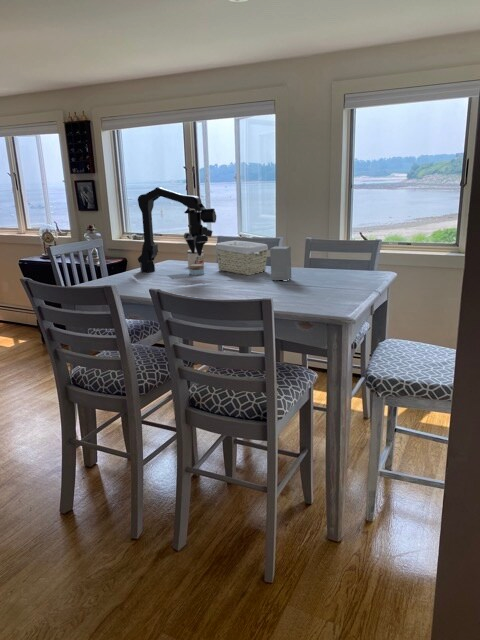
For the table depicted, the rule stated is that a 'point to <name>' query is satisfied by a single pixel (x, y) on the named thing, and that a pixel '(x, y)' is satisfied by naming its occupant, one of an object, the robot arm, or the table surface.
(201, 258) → the teacup with lid
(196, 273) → the bowl
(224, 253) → the storage basket
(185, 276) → the mat
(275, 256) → the skincare box
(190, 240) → the robot arm
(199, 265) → the lid
